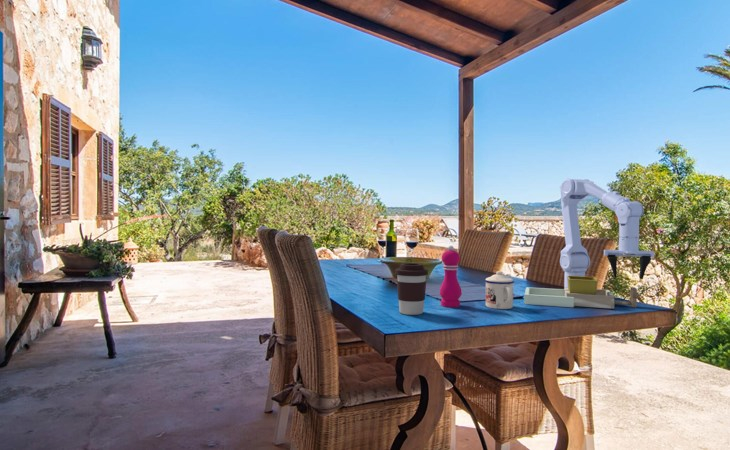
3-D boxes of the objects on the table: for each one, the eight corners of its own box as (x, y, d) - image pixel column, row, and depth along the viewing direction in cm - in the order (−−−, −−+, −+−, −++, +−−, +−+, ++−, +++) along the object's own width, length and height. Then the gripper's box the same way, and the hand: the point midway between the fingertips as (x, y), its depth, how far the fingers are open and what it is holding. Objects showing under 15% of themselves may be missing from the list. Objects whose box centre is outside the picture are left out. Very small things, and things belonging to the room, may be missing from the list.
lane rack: (526, 295, 170) (526, 287, 170) (570, 298, 165) (570, 289, 165) (524, 304, 154) (524, 294, 154) (573, 307, 149) (573, 297, 148)
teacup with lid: (480, 304, 153) (480, 270, 153) (504, 303, 155) (505, 269, 154) (497, 311, 141) (497, 274, 141) (523, 310, 143) (524, 273, 143)
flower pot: (597, 307, 149) (598, 280, 149) (568, 305, 152) (568, 278, 152) (594, 302, 157) (594, 276, 157) (566, 301, 160) (567, 275, 160)
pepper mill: (460, 303, 154) (460, 245, 154) (462, 308, 147) (463, 246, 147) (438, 303, 155) (439, 244, 154) (440, 307, 148) (440, 246, 147)
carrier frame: (564, 298, 164) (564, 281, 164) (631, 302, 156) (631, 285, 156) (566, 305, 151) (566, 287, 151) (639, 310, 143) (639, 291, 143)
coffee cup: (401, 317, 133) (401, 266, 133) (390, 310, 143) (391, 262, 142) (432, 315, 136) (433, 265, 136) (420, 308, 145) (420, 262, 145)
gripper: (606, 237, 150) (605, 278, 151) (657, 238, 145) (656, 280, 145) (603, 236, 157) (602, 275, 157) (652, 237, 152) (651, 278, 152)
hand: (628, 278), depth 152 cm, fingers open, 7 cm apart
